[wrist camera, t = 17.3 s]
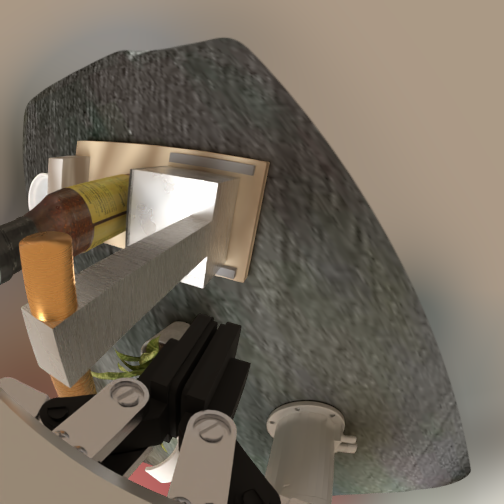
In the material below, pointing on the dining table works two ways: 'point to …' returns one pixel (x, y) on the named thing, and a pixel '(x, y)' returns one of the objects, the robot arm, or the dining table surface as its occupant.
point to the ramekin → (38, 190)
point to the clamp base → (142, 155)
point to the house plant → (146, 353)
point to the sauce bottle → (69, 219)
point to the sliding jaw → (124, 270)
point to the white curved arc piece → (165, 467)
